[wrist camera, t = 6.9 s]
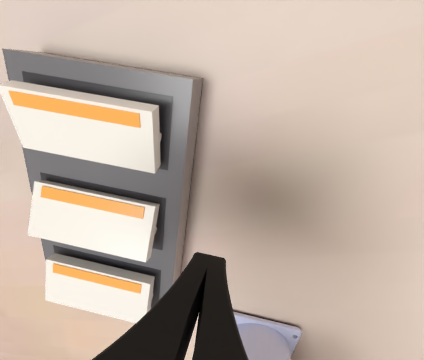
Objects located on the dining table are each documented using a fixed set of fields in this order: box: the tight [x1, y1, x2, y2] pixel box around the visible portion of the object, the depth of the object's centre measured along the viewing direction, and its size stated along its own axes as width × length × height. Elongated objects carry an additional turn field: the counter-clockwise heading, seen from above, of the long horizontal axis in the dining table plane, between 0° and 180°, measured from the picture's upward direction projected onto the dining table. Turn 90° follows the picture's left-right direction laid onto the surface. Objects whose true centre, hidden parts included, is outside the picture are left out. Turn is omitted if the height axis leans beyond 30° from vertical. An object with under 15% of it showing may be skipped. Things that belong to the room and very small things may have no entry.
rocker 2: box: [45, 253, 155, 323], centre depth 21 cm, size 4×9×1 cm, turn 82°
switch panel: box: [2, 49, 203, 308], centre depth 20 cm, size 21×12×3 cm, turn 172°
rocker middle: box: [28, 180, 160, 262], centre depth 18 cm, size 4×9×1 cm, turn 82°
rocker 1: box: [0, 80, 162, 174], centre depth 15 cm, size 4×9×1 cm, turn 81°
